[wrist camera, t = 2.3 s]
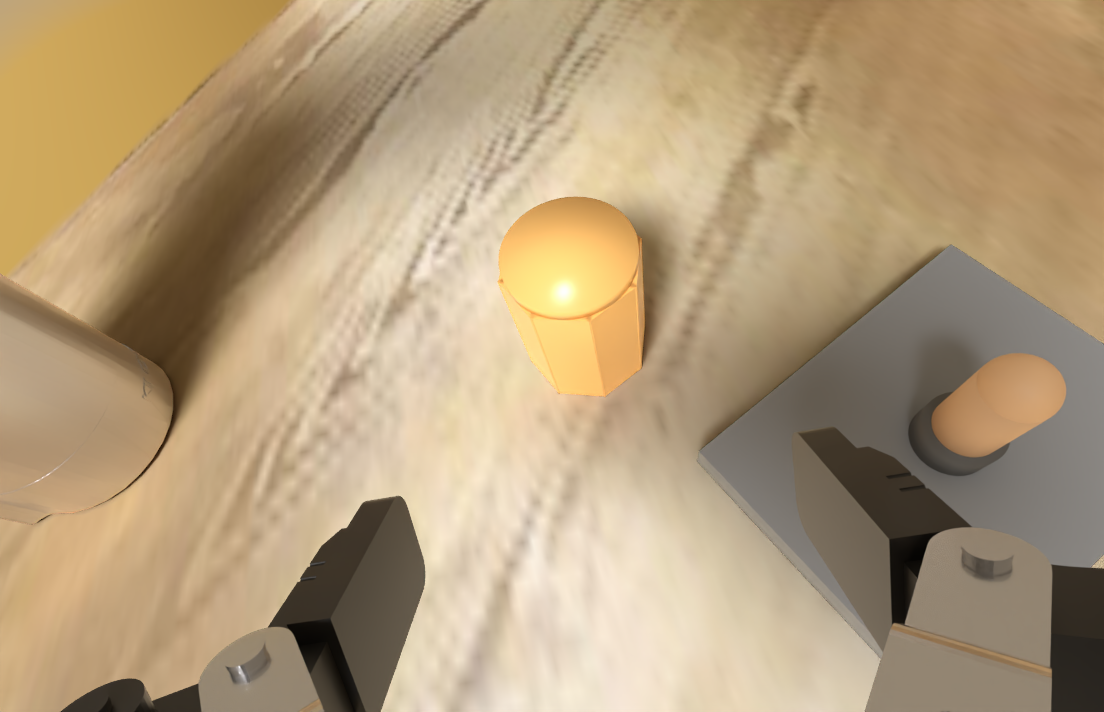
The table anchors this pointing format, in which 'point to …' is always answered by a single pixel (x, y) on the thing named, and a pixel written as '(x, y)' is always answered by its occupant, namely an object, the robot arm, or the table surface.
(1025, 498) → the post board
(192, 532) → the table surface
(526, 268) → the orange domed hexagonal post
